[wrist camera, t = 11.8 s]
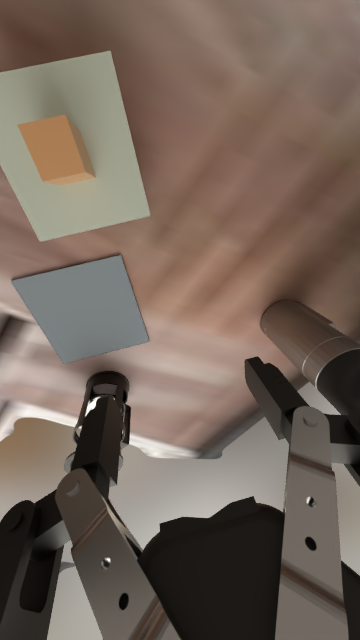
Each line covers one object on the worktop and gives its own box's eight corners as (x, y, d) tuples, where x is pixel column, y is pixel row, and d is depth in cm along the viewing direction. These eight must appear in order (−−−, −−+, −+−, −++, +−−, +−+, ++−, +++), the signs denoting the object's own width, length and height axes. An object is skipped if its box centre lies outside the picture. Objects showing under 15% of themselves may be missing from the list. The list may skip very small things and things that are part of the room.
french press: (74, 386, 47) (26, 521, 27) (103, 362, 45) (73, 488, 25) (115, 409, 52) (100, 535, 32) (142, 388, 50) (144, 508, 31)
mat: (120, 254, 35) (120, 255, 35) (149, 340, 44) (149, 341, 44) (12, 280, 34) (10, 281, 34) (64, 362, 43) (63, 363, 43)
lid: (111, 58, 20) (101, 7, 15) (150, 215, 28) (152, 218, 22) (-34, 87, 20) (-98, 45, 15) (43, 240, 27) (19, 249, 22)
